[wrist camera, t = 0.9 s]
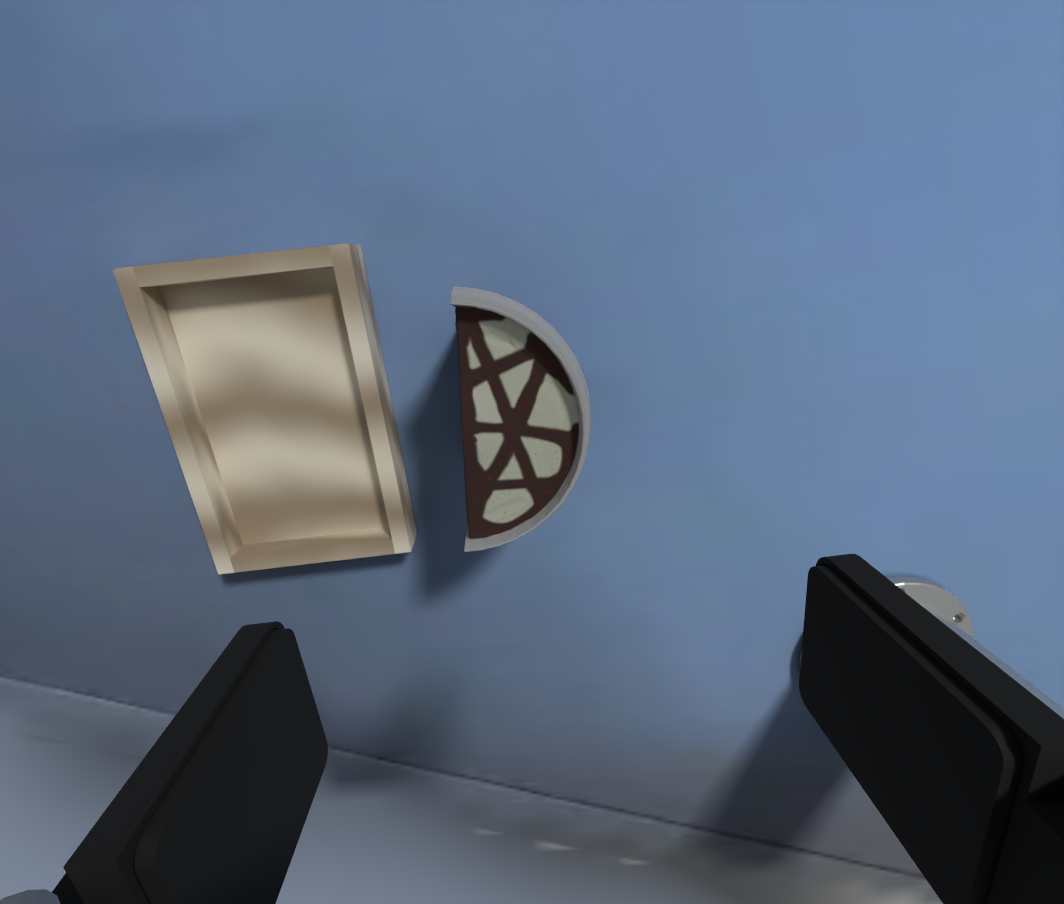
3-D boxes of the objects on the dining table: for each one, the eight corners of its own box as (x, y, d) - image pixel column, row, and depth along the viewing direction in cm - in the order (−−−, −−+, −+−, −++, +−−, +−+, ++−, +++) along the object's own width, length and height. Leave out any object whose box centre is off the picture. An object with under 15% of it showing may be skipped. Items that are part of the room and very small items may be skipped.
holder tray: (417, 533, 35) (411, 551, 33) (237, 553, 35) (218, 574, 32) (360, 245, 29) (348, 243, 27) (144, 269, 29) (112, 268, 27)
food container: (569, 479, 34) (594, 557, 25) (475, 482, 34) (464, 562, 25) (572, 281, 30) (603, 286, 21) (466, 283, 30) (448, 287, 21)
